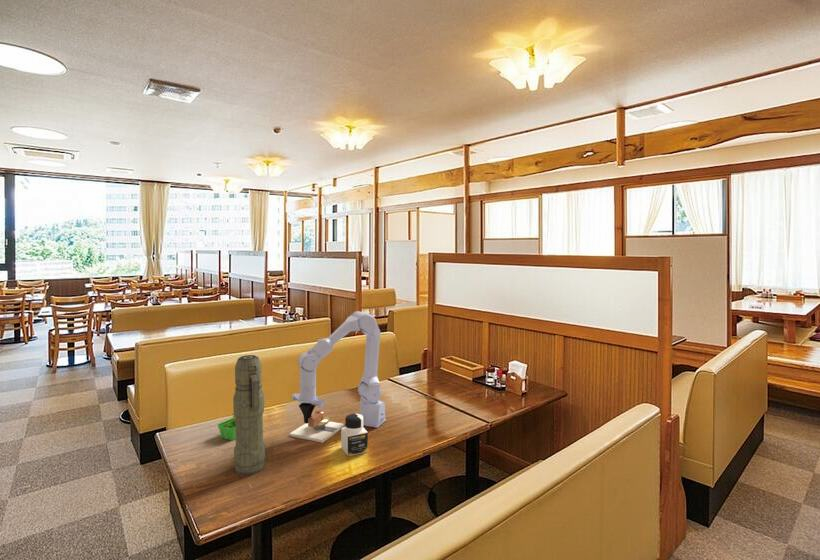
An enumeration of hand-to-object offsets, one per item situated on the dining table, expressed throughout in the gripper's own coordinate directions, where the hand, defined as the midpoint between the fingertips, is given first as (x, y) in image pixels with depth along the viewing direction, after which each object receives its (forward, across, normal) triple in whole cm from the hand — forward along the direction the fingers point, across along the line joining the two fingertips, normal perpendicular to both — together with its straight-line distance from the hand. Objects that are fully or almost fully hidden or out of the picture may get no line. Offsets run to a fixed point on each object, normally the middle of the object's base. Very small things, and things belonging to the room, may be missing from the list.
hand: (307, 422), depth 156 cm
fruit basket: (+6, -22, -13) cm, 26 cm away
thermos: (+5, +2, -26) cm, 27 cm away
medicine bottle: (+5, +22, 0) cm, 22 cm away
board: (+5, 0, +5) cm, 7 cm away
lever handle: (+2, +1, +4) cm, 5 cm away
